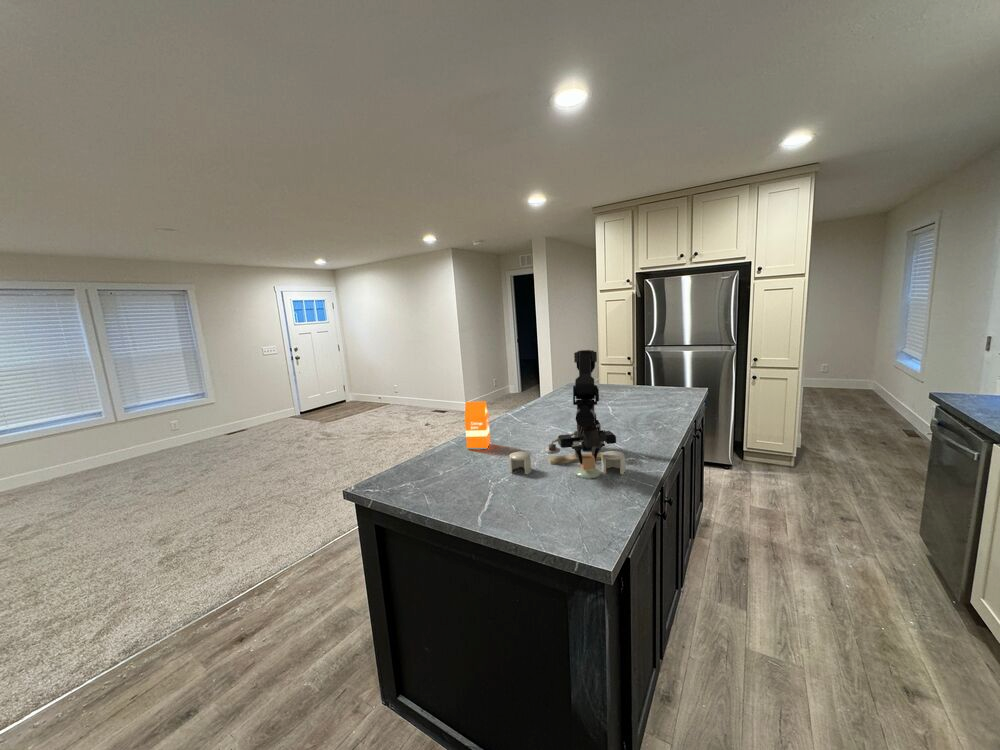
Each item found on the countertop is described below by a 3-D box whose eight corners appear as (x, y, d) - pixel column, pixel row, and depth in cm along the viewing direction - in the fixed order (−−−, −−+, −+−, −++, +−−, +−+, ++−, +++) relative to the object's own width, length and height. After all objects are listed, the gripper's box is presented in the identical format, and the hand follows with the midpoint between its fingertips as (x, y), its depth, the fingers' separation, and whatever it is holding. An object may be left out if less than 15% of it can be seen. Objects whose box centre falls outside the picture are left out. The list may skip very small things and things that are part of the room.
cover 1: (509, 468, 146) (508, 452, 145) (529, 466, 146) (528, 450, 145) (511, 476, 139) (510, 459, 138) (532, 474, 139) (531, 457, 138)
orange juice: (470, 444, 176) (467, 399, 172) (490, 444, 174) (487, 399, 171) (467, 450, 168) (463, 404, 165) (487, 450, 167) (484, 403, 164)
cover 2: (599, 468, 141) (599, 451, 140) (619, 466, 141) (619, 450, 140) (606, 476, 133) (606, 459, 132) (627, 474, 134) (627, 457, 133)
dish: (572, 469, 141) (572, 467, 140) (595, 467, 141) (595, 465, 141) (578, 479, 132) (578, 477, 132) (604, 477, 133) (604, 475, 133)
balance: (547, 465, 146) (545, 430, 144) (544, 459, 152) (542, 426, 150) (610, 459, 148) (610, 425, 146) (605, 454, 153) (604, 421, 151)
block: (580, 465, 138) (579, 454, 137) (591, 464, 138) (591, 453, 138) (583, 470, 134) (583, 458, 133) (595, 469, 134) (594, 457, 134)
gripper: (564, 427, 125) (566, 475, 127) (622, 423, 126) (622, 469, 129) (556, 418, 136) (558, 462, 138) (609, 414, 137) (610, 457, 140)
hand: (587, 463), depth 136 cm, fingers closed on block, 4 cm apart
